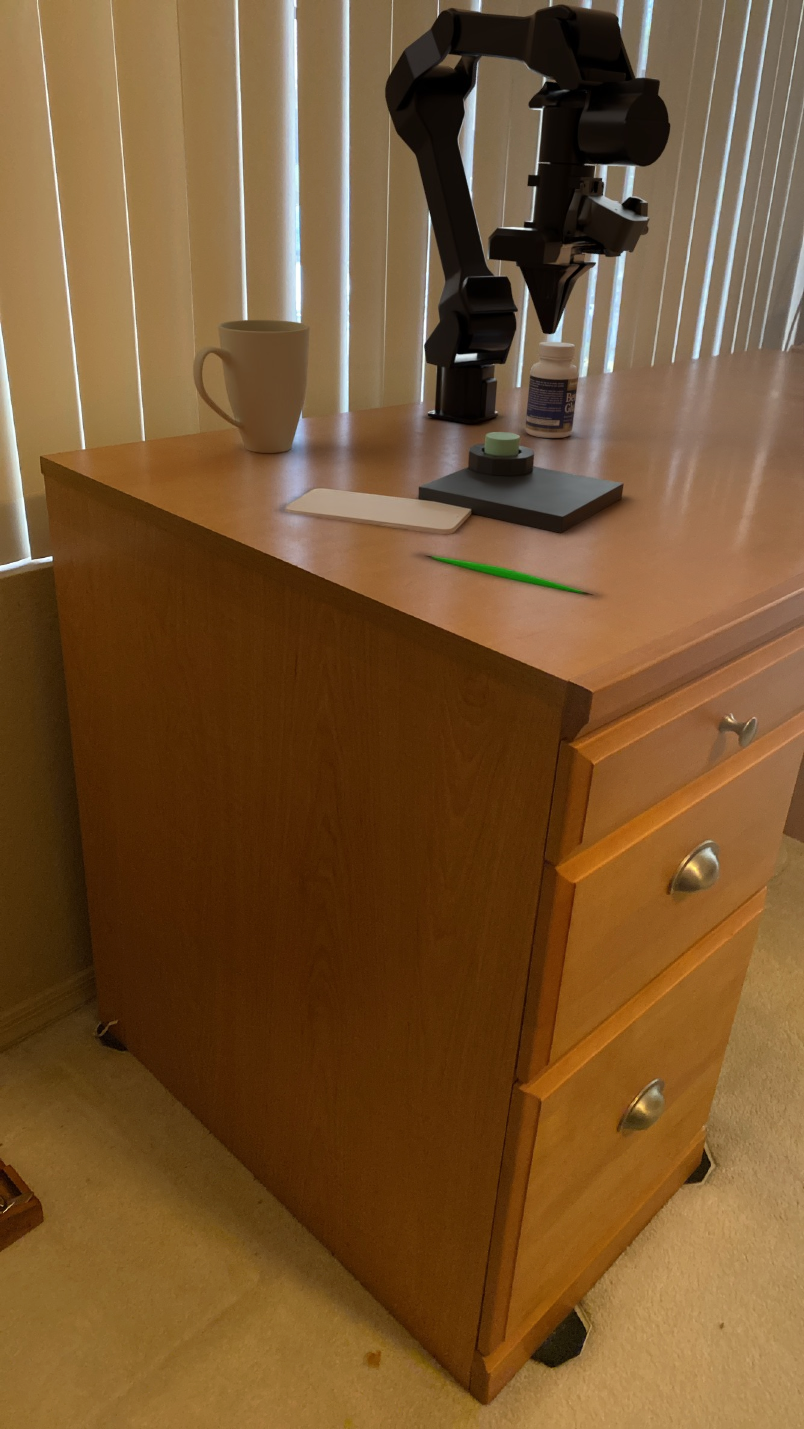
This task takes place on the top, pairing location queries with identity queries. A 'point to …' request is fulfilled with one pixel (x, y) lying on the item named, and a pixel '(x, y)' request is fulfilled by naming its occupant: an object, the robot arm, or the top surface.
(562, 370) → the pill bottle
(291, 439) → the mug
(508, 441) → the button
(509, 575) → the green tapered stick
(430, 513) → the smartphone
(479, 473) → the scale
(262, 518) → the top surface
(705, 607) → the top surface
